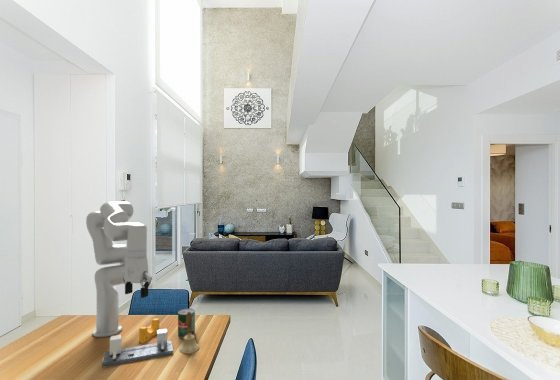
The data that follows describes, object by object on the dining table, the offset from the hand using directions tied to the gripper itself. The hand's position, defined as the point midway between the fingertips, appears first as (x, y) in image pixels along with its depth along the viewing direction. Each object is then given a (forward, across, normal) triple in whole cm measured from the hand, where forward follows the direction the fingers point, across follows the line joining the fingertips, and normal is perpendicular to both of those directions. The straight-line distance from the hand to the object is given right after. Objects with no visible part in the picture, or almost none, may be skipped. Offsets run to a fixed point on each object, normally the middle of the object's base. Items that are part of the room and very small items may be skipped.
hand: (136, 295), depth 131 cm
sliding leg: (+23, -5, -6) cm, 25 cm away
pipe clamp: (+26, -11, +15) cm, 32 cm away
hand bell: (+25, +15, +15) cm, 33 cm away
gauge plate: (+25, 0, +2) cm, 25 cm away
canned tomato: (+25, +4, +25) cm, 36 cm away
